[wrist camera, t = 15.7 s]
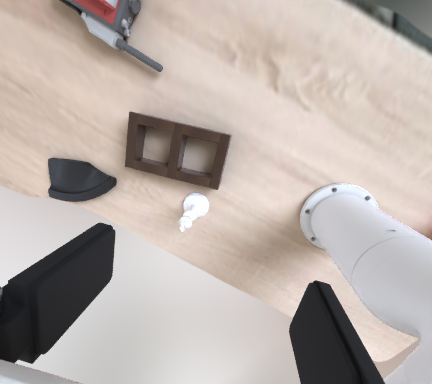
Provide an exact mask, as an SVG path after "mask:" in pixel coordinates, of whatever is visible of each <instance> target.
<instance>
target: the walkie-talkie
mask: <svg viewBox="0 0 432 384" xmlns="http://www.w3.org/2000/svg"><path fill="white" fill-rule="evenodd" d="M60 1H62V2H63V3H65V4H66V5H68V6H70V7H71V8H73V9H74V10H76V11H77V12H78V13H79V15H80V16H81V18H82V19H84V21H85V23H86V25H87V27H88V29H89V31H90V33H92V34H93V35H95V36H97V37H98V38H100V39H101V40H103V41H105V42H106V43H107V44H108V45H109V46H111V47H112V48H114V49H115V50H117V51H119V49H121V50H123V51H126V52H128V53H129V54H131V55H133V56H134V57H136V58H137V59H139V60H141V61H142V62H144V63H145V64H147V65H149V66H150V67H152V68H153V69H155V70H157V71H158V72H161V71H162V70H163V67H162V65H160V64H159V63H157V62H155V61H154V60H152V59H150V58H149V57H147V56H146V55H144V54H142V53H141V52H139V51H138V50H136V49H134V48H133V47H131V46H129V45H128V44H127V43H126V42H125V41H124V40H123V37H127V36H128V37H129V36H130V35H131V32H130V31H129V29H130V26H131V23H132V20H133V18H134V15H135V14H137V13H139V11H140V8H141V1H140V0H60ZM80 10H81V11H82V12H81V11H80Z"/></svg>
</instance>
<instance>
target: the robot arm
mask: <svg viewBox="0 0 432 384" xmlns="http://www.w3.org/2000/svg"><path fill="white" fill-rule="evenodd" d="M332 188H333V190H332ZM307 209H308V210H307ZM306 210H307V211H306ZM300 225H301V229H302V231H303V233H304V234H305V236H306V238H307V239H308V240H309V241H310V242H311V243H313V244H314V245H315V246H317V247H319V248H322V249H325V250H326V251H327V253H328V254H329V256H330V257H331V258H332V260H333V261H334V263H335V264H336V266H337V267H338V269H339V270H340V272H341V273H342V274H343V276H344V277H345V279H346V280H347V282H348V283H349V285H350V286H351V287H352V289H353V290H354V292H355V293H356V295H357V296H358V297H359V299H360V300H361V302H362V303H363V304H364V306H365V307H366V308H367V309H368V310H369V311H370V312H371V313H372V314H373V315H374V316H375V317H376V318H378V319H379V320H380V321H382V322H383V323H385V324H386V325H388V326H390V327H392V328H394V329H396V330H398V331H400V332H403V333H406V334H408V335H411V336H414V337H417V338H420V339H421V341H420V343H419V345H418V347H417V348H416V349H415V350H414V351H413V352H412V353H411V354H410V355H409V356H408V357H407V358H406V359H405V361H404V362H403V363H402V364H401V365H400V366H398V367H397V368H396V369H395V370H394V371H393V372H392V373H390V374H389V375H388V376H387V377H386V378H385V379H384V380H383V379H382V377H381V375H380V373H379V372H378V370H377V368H376V366H375V364H374V363H373V361H372V359H371V357H370V356H369V354H368V352H367V350H366V348H365V347H364V345H363V343H362V341H361V339H360V338H359V336H358V334H357V332H356V331H355V329H354V327H353V325H352V323H351V322H350V320H349V318H348V316H347V314H346V313H345V311H344V309H343V307H342V306H341V304H340V302H339V300H338V298H337V297H336V295H335V293H334V291H333V290H332V288H331V286H330V285H329V284H327V283H323V282H320V281H314V282H313V283H309V285H308V287H307V289H306V291H305V293H304V295H303V298H302V300H301V302H300V304H299V306H298V309H297V311H296V313H295V315H294V318H293V320H292V322H291V324H290V328H289V329H290V330H289V333H290V338H291V343H292V347H293V351H294V356H295V360H296V365H297V369H298V373H299V378H300V382H301V384H432V240H430V239H429V238H427V237H425V236H423V235H422V234H420V233H418V232H417V231H415V230H413V229H412V228H410V227H408V226H406V225H405V224H403V223H401V222H400V221H398V220H396V219H394V218H393V217H391V216H389V215H388V214H386V213H384V212H382V211H381V210H379V208H378V205H377V202H376V200H375V199H374V197H373V196H372V195H371V194H370V193H369V192H368V191H366V190H364V189H363V188H361V187H358V186H356V185H353V184H348V183H337V184H331V185H328V186H325V187H323V188H321V189H319V190H317V191H316V192H314V193H313V194H312V195H311V196H310V197H309V198H308V199H307V200H306V202H305V203H304V205H303V207H302V210H301V214H300ZM114 245H115V230H114V229H113V227H112V226H111V225H107V224H104V223H98V224H96V225H95V226H93V227H91V228H90V229H88V230H86V231H85V232H83V233H82V234H80V235H79V236H77V237H76V238H74V239H73V240H71V241H69V242H68V243H66V244H65V245H63V246H62V247H60V248H58V249H57V250H55V251H54V252H52V253H51V254H49V255H48V256H46V257H44V258H43V259H41V260H40V261H38V262H37V263H35V264H34V265H32V266H30V267H29V268H27V269H26V270H24V271H23V272H21V273H20V274H18V275H16V276H15V277H13V278H12V279H10V280H8V284H7V285H5V286H4V287H2V288H1V287H0V384H81V383H78V382H75V381H72V380H69V379H66V378H62V377H59V376H56V375H53V374H49V373H46V372H42V371H39V370H35V369H32V368H28V367H25V366H21V365H18V364H14V363H15V362H16V361H17V360H21V361H25V362H28V363H31V364H32V363H34V361H35V360H36V359H37V358H38V357H39V356H40V355H41V354H45V353H47V352H48V351H49V350H50V349H51V348H52V347H53V345H54V344H55V343H56V342H57V341H58V340H59V338H60V337H61V336H62V335H63V334H64V333H65V332H66V330H67V329H68V328H69V327H70V326H71V325H72V324H73V323H74V322H75V320H76V319H77V318H78V317H79V316H80V315H81V314H82V312H83V311H84V310H85V309H86V308H87V307H88V306H89V304H90V303H91V302H92V301H93V300H94V299H95V298H96V296H97V295H98V294H99V293H100V292H101V291H102V290H103V288H104V287H105V286H106V285H107V284H108V283H109V282H110V280H111V277H112V273H113V259H114Z"/></svg>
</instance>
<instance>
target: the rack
mask: <svg viewBox="0 0 432 384" xmlns="http://www.w3.org/2000/svg"><path fill="white" fill-rule="evenodd" d="M146 126H148V127H153V128H157V129H161V130H165V131H169V132H173V136H172V143H171V150H170V157H169V163H168V164H166V163H162V162H158V161H154V160H150V159H146V158H142V156H143V147H144V137H145V128H146ZM187 136H190V137H195V138H199V139H203V140H207V141H211V142H216V143H219V144H218V149H217V153H216V158H215V162H214V167H213V171H212V175H210V174H206V173H202V172H198V171H194V170H190V169H186V168H182V162H183V156H184V150H185V144H186V138H187ZM231 136H232V135H230V134H226V133H221V132H217V131H213V130H209V129H204V128H200V127H196V126H192V125H187V124H183V123H179V122H175V121H170V120H166V119H162V118H157V117H153V116H149V115H145V114H140V113H135V112H129V123H128V135H127V148H126V160H125V167H129V168H133V169H137V170H141V171H145V172H149V173H153V174H157V175H161V176H165V177H168V178H172V179H177V180H181V181H185V182H189V183H193V184H197V185H201V186H205V187H209V188H212V189H216V190H218V188H219V186H220V183H221V178H222V174H223V170H224V166H225V161H226V157H227V153H228V149H229V144H230V140H231Z"/></svg>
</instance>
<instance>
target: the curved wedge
mask: <svg viewBox="0 0 432 384" xmlns="http://www.w3.org/2000/svg"><path fill="white" fill-rule="evenodd" d="M48 167H49V175H50V180H51V186H50V188H49V190H48V193H49V196H50V197H52V198H55V199H59V200H64V201H72V202H78V201H86V200H90V199H93V198H96V197H98V196H100V195H102V194H104V193H106V192H108V191H109V190H110V189H112V188H113V187H114V186H115V185H116V178H114V177H111V176H109V175H107V174H105V173H103V172H101V171H100V170H98V169H97V168H95V167H94V166H92V165H91V164H90V163H89V162H83V161H77V160H69V159H58V158H50V159H48Z"/></svg>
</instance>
